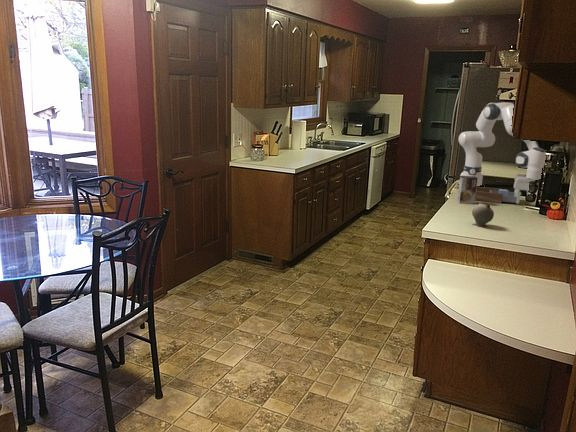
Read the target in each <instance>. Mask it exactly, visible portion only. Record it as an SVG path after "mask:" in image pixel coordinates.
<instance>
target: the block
mask: <svg viewBox="0 0 576 432" xmlns="http://www.w3.org/2000/svg"><path fill="white" fill-rule="evenodd" d="M498 189H499V193H500V194H503V195H506V196H508V192H509V190H508V189H503V188H498Z"/></svg>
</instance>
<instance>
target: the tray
mask: <svg viewBox="0 0 576 432" xmlns="http://www.w3.org/2000/svg"><path fill="white" fill-rule="evenodd" d="M490 193H499V191H496V190H490ZM521 196H522V192H521V190H517V189H514V191H508V196H506V195H503V197H502V202H505V203H513V204H519V203H520V199H521Z"/></svg>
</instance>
